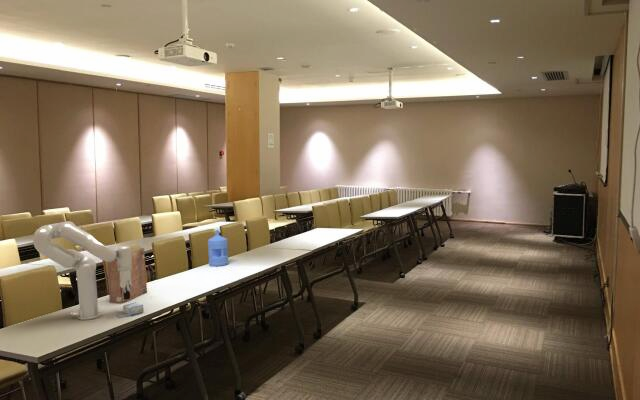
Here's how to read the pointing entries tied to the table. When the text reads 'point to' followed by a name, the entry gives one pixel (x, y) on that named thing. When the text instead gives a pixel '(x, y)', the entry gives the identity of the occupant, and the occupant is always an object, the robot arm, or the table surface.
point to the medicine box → (133, 308)
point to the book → (136, 278)
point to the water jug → (217, 250)
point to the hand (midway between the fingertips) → (127, 298)
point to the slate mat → (124, 315)
